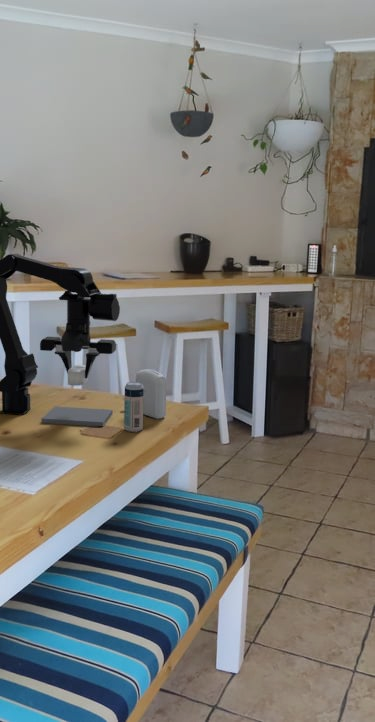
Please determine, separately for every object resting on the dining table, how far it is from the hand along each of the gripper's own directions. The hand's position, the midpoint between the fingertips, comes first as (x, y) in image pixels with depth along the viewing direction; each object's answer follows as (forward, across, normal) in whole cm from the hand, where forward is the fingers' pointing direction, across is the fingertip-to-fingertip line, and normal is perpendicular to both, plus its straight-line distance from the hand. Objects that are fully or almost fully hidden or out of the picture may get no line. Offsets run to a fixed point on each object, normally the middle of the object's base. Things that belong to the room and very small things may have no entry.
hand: (78, 377), depth 180 cm
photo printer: (+11, +18, +8) cm, 23 cm away
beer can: (+11, +16, -7) cm, 21 cm away
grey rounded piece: (+1, 0, +1) cm, 2 cm away
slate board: (+11, 0, 0) cm, 11 cm away
